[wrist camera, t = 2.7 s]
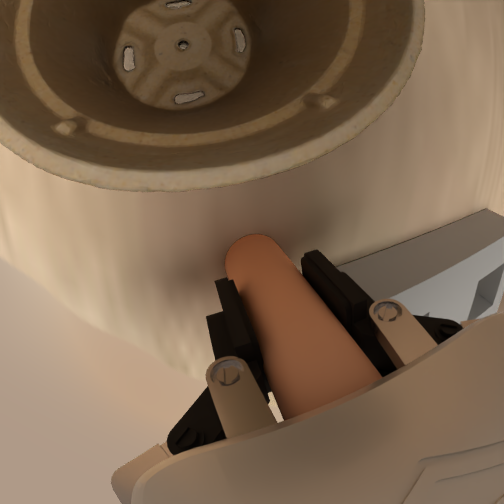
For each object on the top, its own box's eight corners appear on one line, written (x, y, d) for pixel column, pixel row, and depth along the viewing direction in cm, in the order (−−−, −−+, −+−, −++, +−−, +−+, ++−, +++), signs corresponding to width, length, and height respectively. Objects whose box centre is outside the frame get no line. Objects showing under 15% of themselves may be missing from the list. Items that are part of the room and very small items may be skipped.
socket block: (486, 208, 19) (520, 225, 15) (468, 299, 23) (493, 319, 20) (310, 276, 16) (345, 317, 13) (318, 378, 21) (340, 416, 18)
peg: (276, 227, 15) (429, 402, 5) (284, 276, 16) (402, 449, 6) (218, 244, 14) (308, 465, 4) (232, 293, 16) (311, 492, 6)
